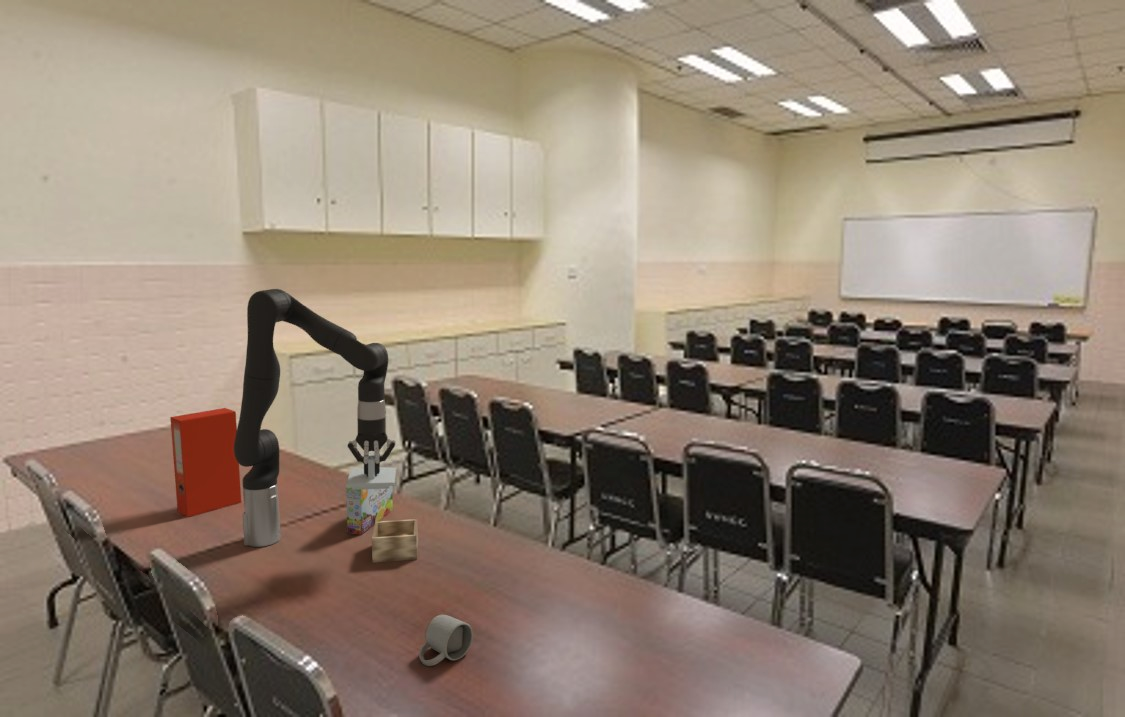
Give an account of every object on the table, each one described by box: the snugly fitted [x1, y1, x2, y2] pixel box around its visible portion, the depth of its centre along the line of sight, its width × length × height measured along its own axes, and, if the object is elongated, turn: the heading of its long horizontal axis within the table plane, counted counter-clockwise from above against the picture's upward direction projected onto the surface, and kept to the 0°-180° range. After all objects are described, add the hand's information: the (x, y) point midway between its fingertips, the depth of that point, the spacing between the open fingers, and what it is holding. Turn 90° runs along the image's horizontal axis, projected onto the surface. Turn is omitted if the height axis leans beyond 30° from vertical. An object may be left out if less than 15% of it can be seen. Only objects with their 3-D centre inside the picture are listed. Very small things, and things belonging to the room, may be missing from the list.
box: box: [371, 518, 419, 564], centre depth 192 cm, size 12×12×7 cm
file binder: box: [169, 407, 242, 518], centre depth 222 cm, size 8×17×32 cm, turn 141°
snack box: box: [345, 466, 394, 536], centre depth 213 cm, size 21×6×15 cm, turn 168°
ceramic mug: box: [418, 614, 474, 667], centre depth 143 cm, size 11×8×8 cm
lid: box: [345, 452, 397, 490], centre depth 188 cm, size 13×13×8 cm
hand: (372, 475), depth 188 cm, fingers closed on lid, 1 cm apart
